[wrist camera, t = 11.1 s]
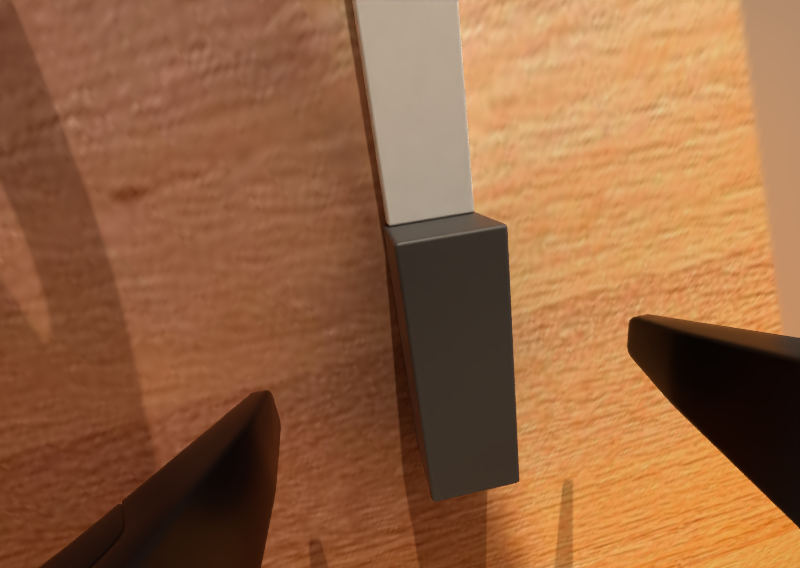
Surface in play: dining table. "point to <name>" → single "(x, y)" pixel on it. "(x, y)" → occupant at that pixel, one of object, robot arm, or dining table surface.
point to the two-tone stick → (440, 247)
